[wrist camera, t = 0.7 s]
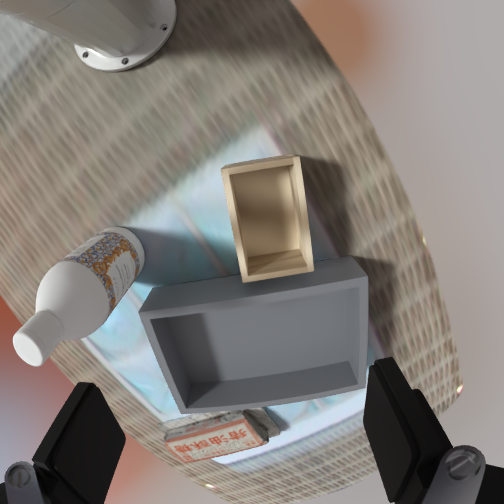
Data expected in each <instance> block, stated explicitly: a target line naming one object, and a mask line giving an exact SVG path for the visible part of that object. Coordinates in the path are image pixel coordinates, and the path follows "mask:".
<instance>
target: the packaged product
mask: <svg viewBox="0 0 504 504" xmlns="http://www.w3.org/2000/svg"><path fill="white" fill-rule="evenodd" d="M158 427H159V428H160V429H161V430H162V431H163V432H164V433H165V434H166V436H165V437H164V441H165V445H166V447H167V449H168V451H169V452H171V453H172V454H173V455H175V457H177V458H178V459H179V460H180V461H182V462H183V463H188V462H195V461H200V460H205V459H210V458H214V457H219V456H223V455H228V454H232V453H236V452H239V451H243V450H247V449H251V448H255V447H259V446H263V445H265V444H267V443H268V442H269V438H271V437H274V436H278V435H280V431H279V428H278V427H277V426H276V424H275V423H274V422H273V420H272V419H271V418H270V416H269V415H268V414H267V412H266V411H265V409H264V408H263V407H260V408H252V409H243V410H233V411H222V412H209V413H195V414H191V415H188V416H186V417H182V418H179V419H175V420H171V421H167V422H163V423H159V424H158Z"/></svg>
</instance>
